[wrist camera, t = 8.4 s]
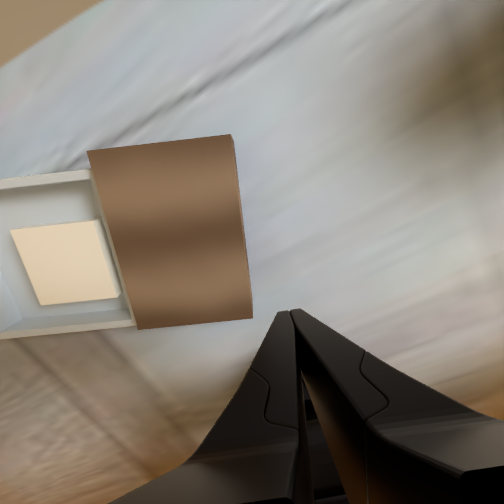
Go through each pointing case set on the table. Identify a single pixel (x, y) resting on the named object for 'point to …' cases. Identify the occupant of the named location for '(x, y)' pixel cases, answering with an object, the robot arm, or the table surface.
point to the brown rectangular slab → (177, 229)
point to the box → (14, 272)
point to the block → (69, 261)
